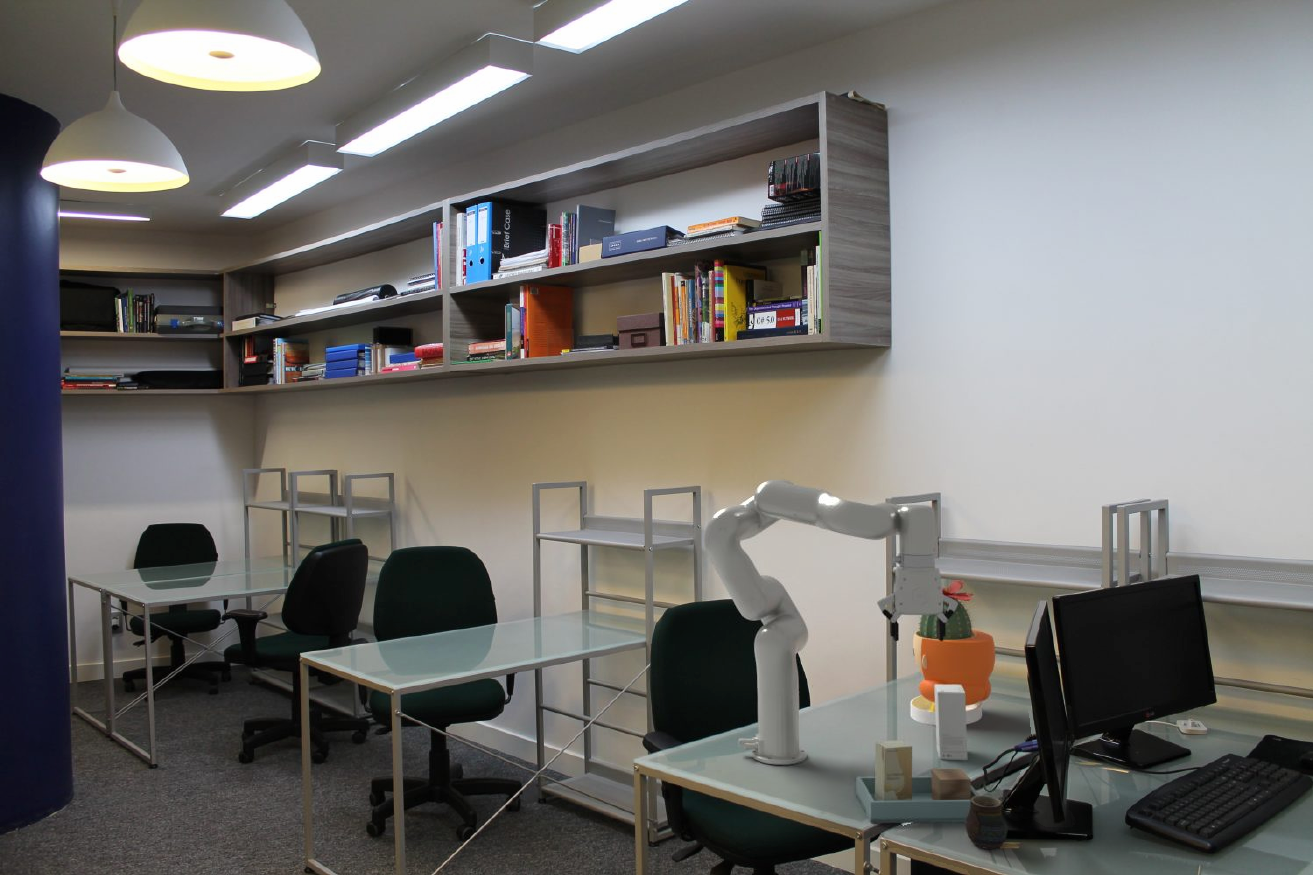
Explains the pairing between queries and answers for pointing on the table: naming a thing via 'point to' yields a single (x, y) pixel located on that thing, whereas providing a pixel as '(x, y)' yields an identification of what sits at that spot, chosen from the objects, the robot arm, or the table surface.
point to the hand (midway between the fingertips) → (917, 639)
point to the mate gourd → (986, 822)
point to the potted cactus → (952, 660)
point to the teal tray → (911, 804)
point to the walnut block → (950, 785)
